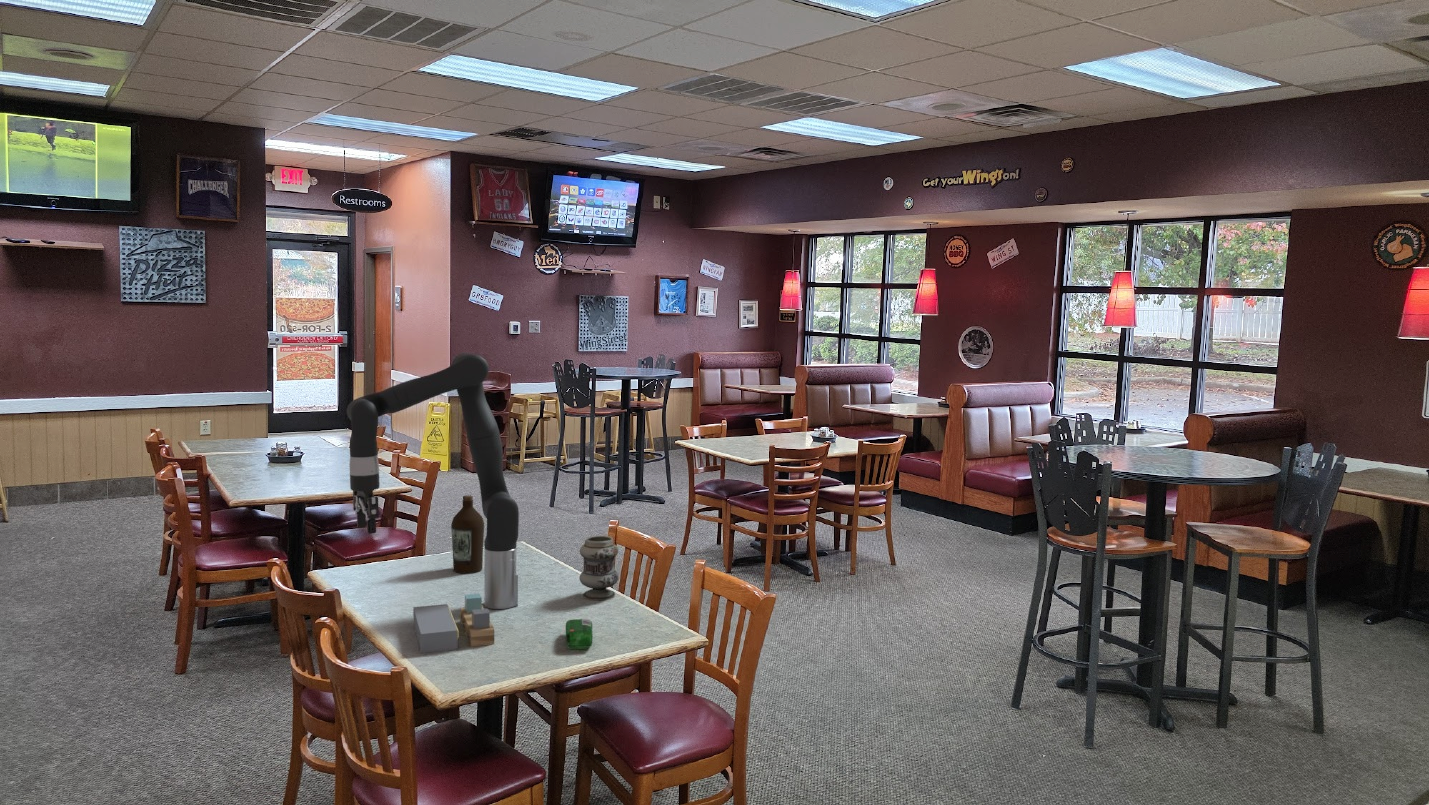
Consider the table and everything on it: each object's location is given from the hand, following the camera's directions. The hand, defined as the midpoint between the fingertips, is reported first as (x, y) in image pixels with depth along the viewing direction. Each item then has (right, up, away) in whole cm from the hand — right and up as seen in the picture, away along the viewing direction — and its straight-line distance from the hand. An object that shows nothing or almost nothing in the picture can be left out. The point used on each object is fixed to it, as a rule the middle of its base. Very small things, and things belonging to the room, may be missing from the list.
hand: (366, 530), depth 262 cm
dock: (+21, -27, -7) cm, 35 cm away
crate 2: (+34, -24, -10) cm, 43 cm away
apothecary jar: (+60, -25, +32) cm, 72 cm away
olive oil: (+13, -21, +57) cm, 62 cm away
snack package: (+60, -29, -9) cm, 67 cm away
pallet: (+31, -27, -3) cm, 41 cm away
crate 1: (+29, -23, +3) cm, 36 cm away
